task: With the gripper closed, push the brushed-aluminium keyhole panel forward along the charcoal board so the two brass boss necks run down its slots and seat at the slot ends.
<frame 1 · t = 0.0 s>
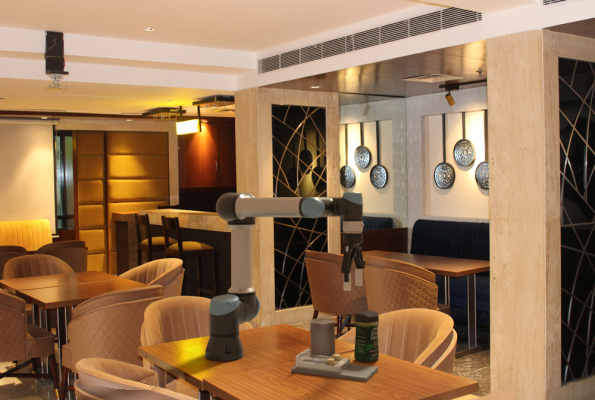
hand: (353, 288, 219), 28 cm above the table, tool pointing down, fingers open, 13 cm apart
pillar candle: (322, 355, 228), on the table
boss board: (334, 371, 207), on the table
keyhole panel: (323, 360, 209), point 3 cm above the table, slide at 0.0 cm
coffee jar: (366, 360, 222), on the table
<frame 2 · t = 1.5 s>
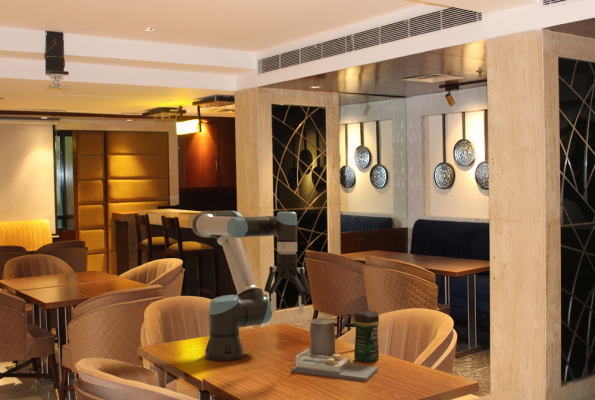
hand: (287, 311, 215), 20 cm above the table, tool pointing down, fingers open, 11 cm apart
nothing on the table moved.
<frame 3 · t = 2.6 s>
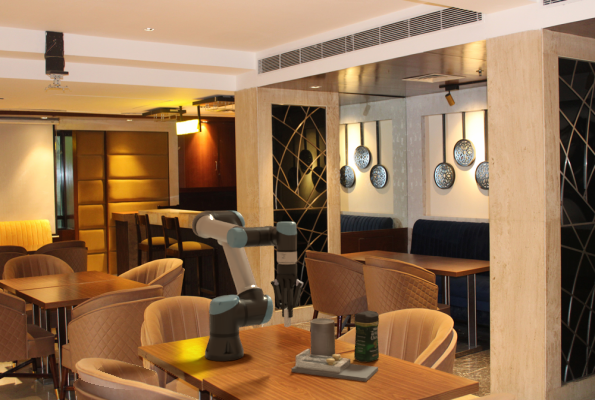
hand: (287, 326, 215), 15 cm above the table, tool pointing down, fingers closed
nothing on the table moved.
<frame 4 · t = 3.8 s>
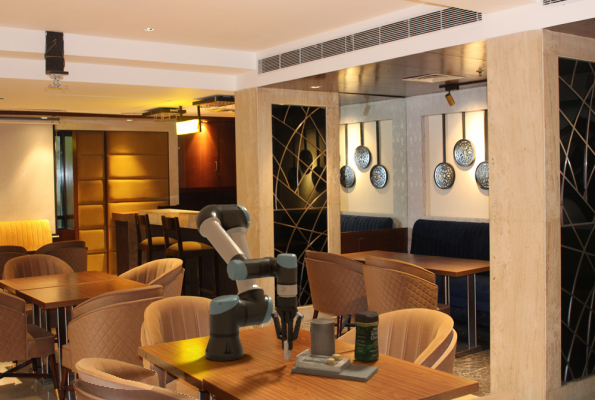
hand: (287, 358, 215), 2 cm above the table, tool pointing down, fingers closed
nothing on the table moved.
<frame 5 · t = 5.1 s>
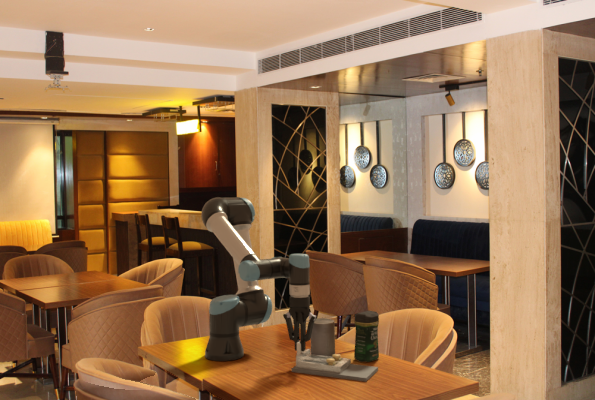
hand: (300, 359, 212), 3 cm above the table, tool pointing down, fingers closed
keyhole panel: (323, 360, 209), point 3 cm above the table, slide at 0.1 cm, touching gripper
everything else where it was.
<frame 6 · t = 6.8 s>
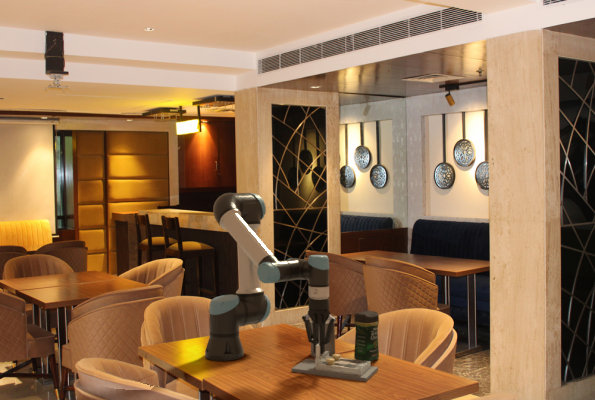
hand: (319, 362, 209), 2 cm above the table, tool pointing down, fingers closed
keyhole panel: (343, 362, 206), point 3 cm above the table, slide at 7.7 cm, touching gripper
everything else where it was.
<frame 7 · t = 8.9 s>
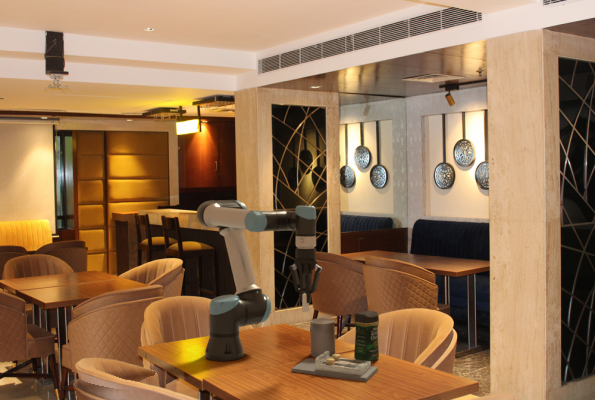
hand: (305, 311, 212), 21 cm above the table, tool pointing down, fingers closed
keyhole panel: (343, 362, 206), point 3 cm above the table, slide at 7.7 cm
everything else where it was.
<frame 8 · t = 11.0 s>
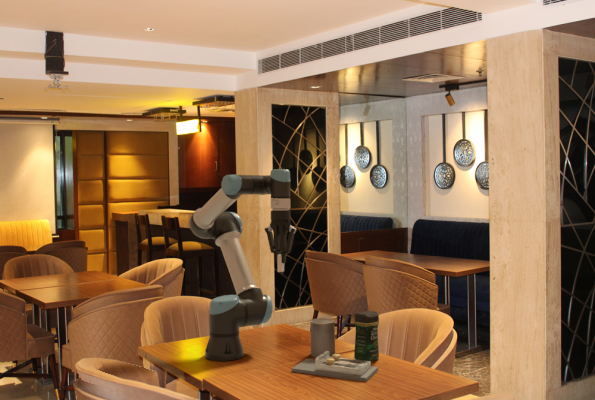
hand: (280, 271, 219), 34 cm above the table, tool pointing down, fingers closed
nothing on the table moved.
at the end: keyhole panel slide at 7.7 cm; the gripper is holding nothing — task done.
